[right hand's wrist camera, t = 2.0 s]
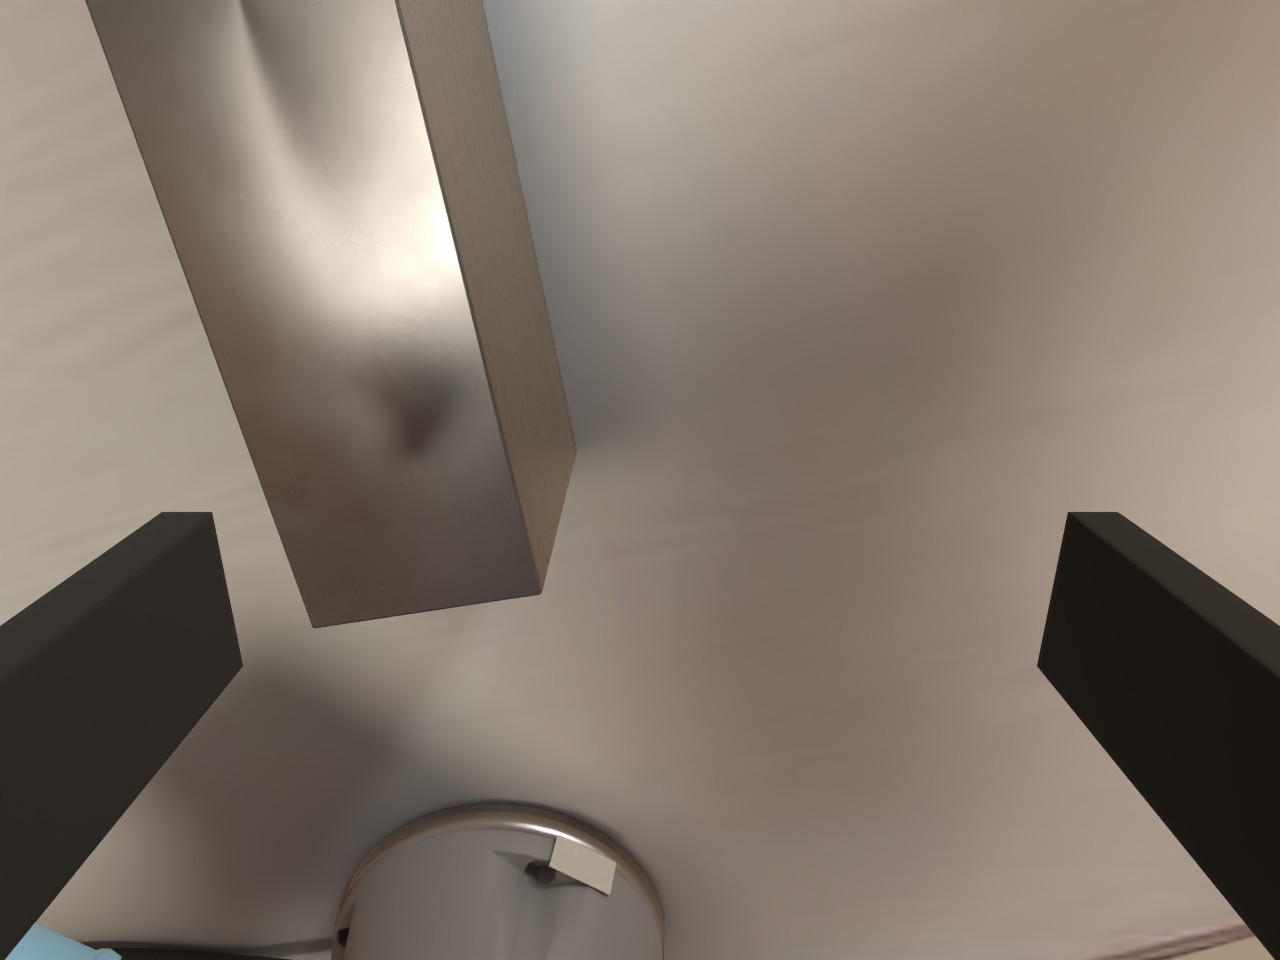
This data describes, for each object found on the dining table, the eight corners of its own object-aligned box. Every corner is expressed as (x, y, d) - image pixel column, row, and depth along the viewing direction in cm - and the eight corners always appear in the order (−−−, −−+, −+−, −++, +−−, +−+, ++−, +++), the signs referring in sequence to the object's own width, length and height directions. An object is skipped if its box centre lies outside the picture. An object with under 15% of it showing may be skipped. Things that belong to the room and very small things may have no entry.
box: (577, 451, 31) (542, 595, 20) (423, 476, 31) (312, 629, 21) (362, -568, 21) (82, -1302, 10) (141, -513, 21) (-341, -1167, 11)
